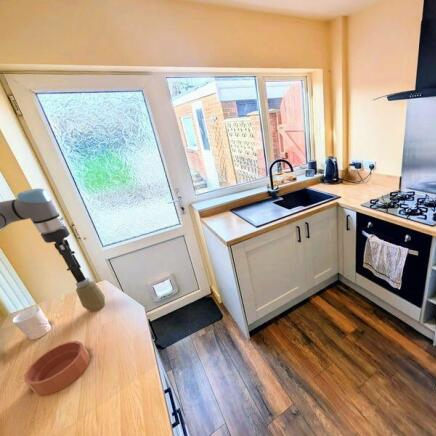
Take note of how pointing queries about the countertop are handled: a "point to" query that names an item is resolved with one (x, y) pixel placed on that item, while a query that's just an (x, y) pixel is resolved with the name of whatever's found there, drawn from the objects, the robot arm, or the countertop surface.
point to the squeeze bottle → (90, 295)
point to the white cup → (32, 322)
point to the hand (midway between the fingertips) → (79, 274)
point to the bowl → (57, 368)
